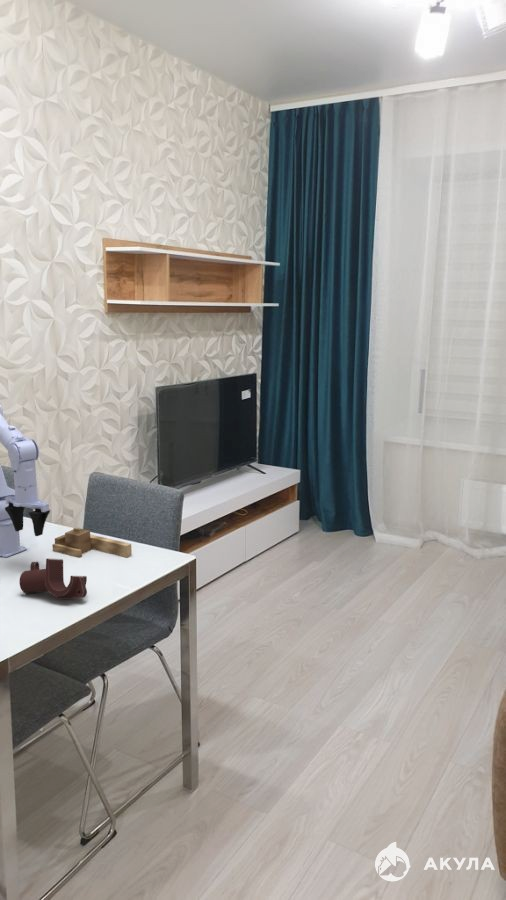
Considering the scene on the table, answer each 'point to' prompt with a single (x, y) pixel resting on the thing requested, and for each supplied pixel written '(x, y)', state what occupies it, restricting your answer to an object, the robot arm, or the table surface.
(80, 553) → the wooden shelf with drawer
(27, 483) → the robot arm
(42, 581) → the bracket
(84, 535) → the cabinet
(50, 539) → the table surface
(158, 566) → the table surface
